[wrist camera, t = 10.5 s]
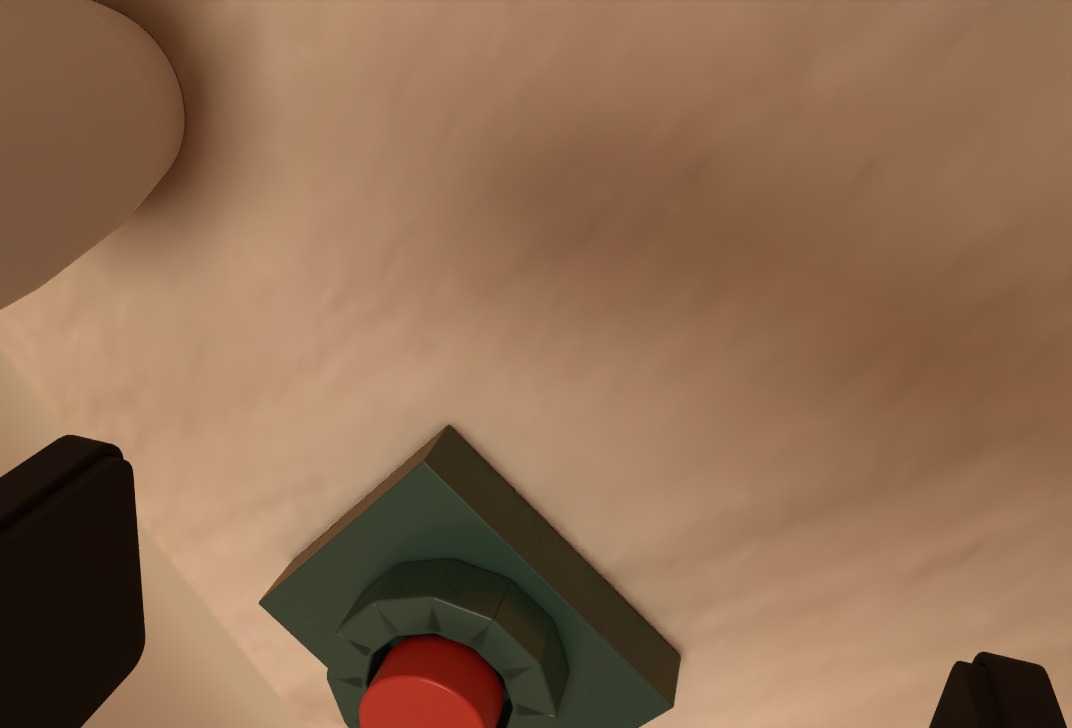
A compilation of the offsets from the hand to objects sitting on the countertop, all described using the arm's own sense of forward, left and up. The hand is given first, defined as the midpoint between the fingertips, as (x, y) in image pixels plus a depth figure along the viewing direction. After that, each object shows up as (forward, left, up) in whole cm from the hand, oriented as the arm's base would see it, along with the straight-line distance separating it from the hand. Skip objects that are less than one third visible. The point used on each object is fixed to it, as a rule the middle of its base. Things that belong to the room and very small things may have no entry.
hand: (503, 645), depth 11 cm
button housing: (-5, +12, -15) cm, 20 cm away
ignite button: (-5, +12, -12) cm, 17 cm away
